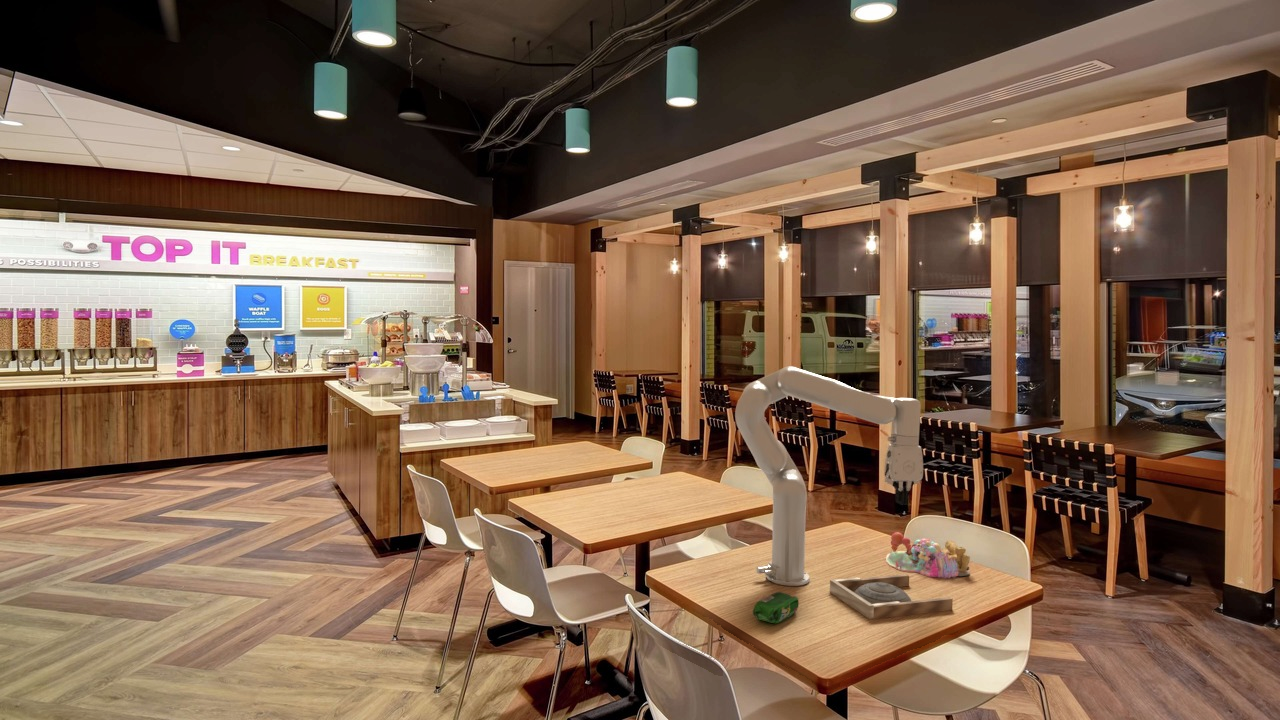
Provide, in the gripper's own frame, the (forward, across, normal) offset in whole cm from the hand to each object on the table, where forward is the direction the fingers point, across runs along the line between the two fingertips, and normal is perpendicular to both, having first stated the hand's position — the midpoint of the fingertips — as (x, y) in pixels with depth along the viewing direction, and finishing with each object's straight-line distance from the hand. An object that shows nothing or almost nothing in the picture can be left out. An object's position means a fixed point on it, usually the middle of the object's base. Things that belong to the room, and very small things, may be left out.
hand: (901, 503), depth 202 cm
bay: (+24, -8, -10) cm, 27 cm away
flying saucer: (+25, -11, -10) cm, 29 cm away
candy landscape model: (+24, +20, +14) cm, 35 cm away
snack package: (+26, -44, -14) cm, 53 cm away
